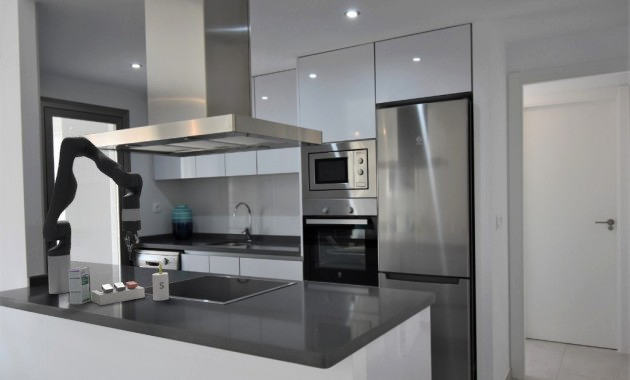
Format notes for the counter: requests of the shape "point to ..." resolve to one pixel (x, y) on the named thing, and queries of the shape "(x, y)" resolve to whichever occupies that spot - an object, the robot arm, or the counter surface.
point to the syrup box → (79, 285)
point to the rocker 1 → (107, 288)
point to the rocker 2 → (119, 286)
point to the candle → (160, 285)
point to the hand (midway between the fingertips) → (132, 260)
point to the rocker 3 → (131, 284)
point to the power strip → (118, 295)
